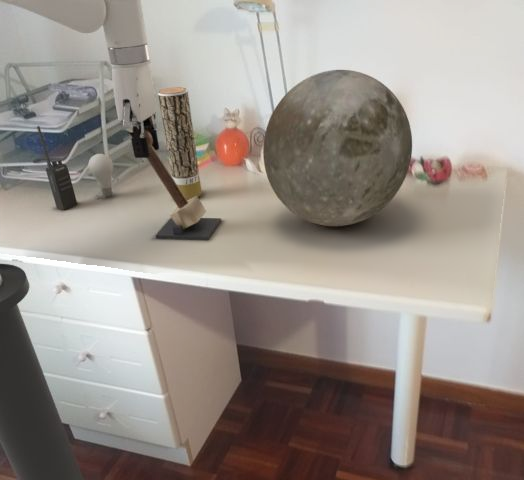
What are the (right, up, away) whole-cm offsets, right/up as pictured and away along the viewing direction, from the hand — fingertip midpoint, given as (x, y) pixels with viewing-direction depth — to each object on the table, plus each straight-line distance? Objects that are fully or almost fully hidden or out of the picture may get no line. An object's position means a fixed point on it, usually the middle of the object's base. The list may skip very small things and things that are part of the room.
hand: (147, 152), depth 118 cm
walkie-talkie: (-26, -5, +26) cm, 37 cm away
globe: (+40, -13, +7) cm, 43 cm away
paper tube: (+5, -2, +26) cm, 26 cm away
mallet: (+1, -5, +3) cm, 6 cm away
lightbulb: (-16, -1, +30) cm, 34 cm away
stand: (+7, -14, +9) cm, 18 cm away
